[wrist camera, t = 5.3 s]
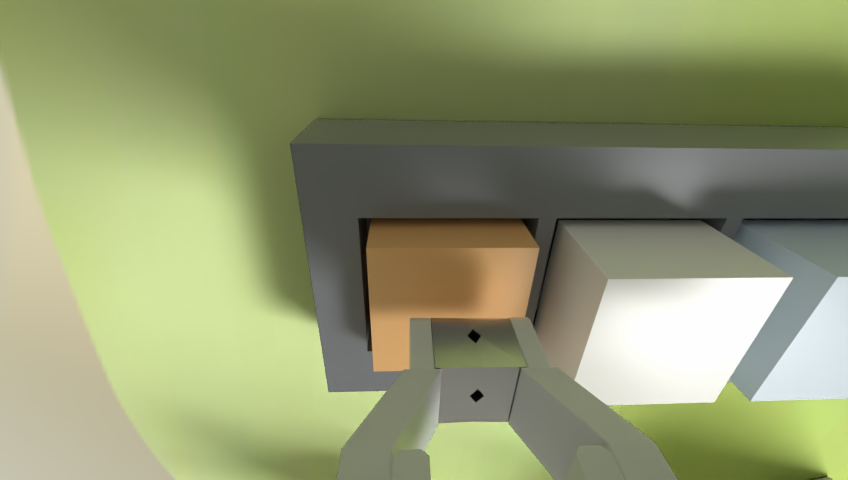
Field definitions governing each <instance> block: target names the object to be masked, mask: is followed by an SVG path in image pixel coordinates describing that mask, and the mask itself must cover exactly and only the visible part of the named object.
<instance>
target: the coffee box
mask: <svg viewBox="0 0 848 480" xmlns="http://www.w3.org/2000/svg"><path fill="white" fill-rule="evenodd" d="M814 480H832V479H831V478H829V477H823V478H819V479H814Z"/></svg>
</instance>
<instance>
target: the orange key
mask: <svg viewBox="0 0 848 480" xmlns="http://www.w3.org/2000/svg"><path fill="white" fill-rule="evenodd" d="M538 253H539V246H538V244H537V243H536V241H535V240H534V238H533V237H532V235H531V234H530V232H529V231H528V229H527V227H526V226H525V224H524V223H523V221H522V220H521V218H371V223H370V229H369V235H368V240H367V246H366V256H367V272H368V288H369V304H370V320H371V337H372V353H373V369H374V372H376V371H403V370H404V369H409V331H410V318H510V317H525V315H526V311H527V306H528V301H529V296H530V291H531V287H532V282H533V277H534V272H535V268H536V263H537V258H538Z"/></svg>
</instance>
